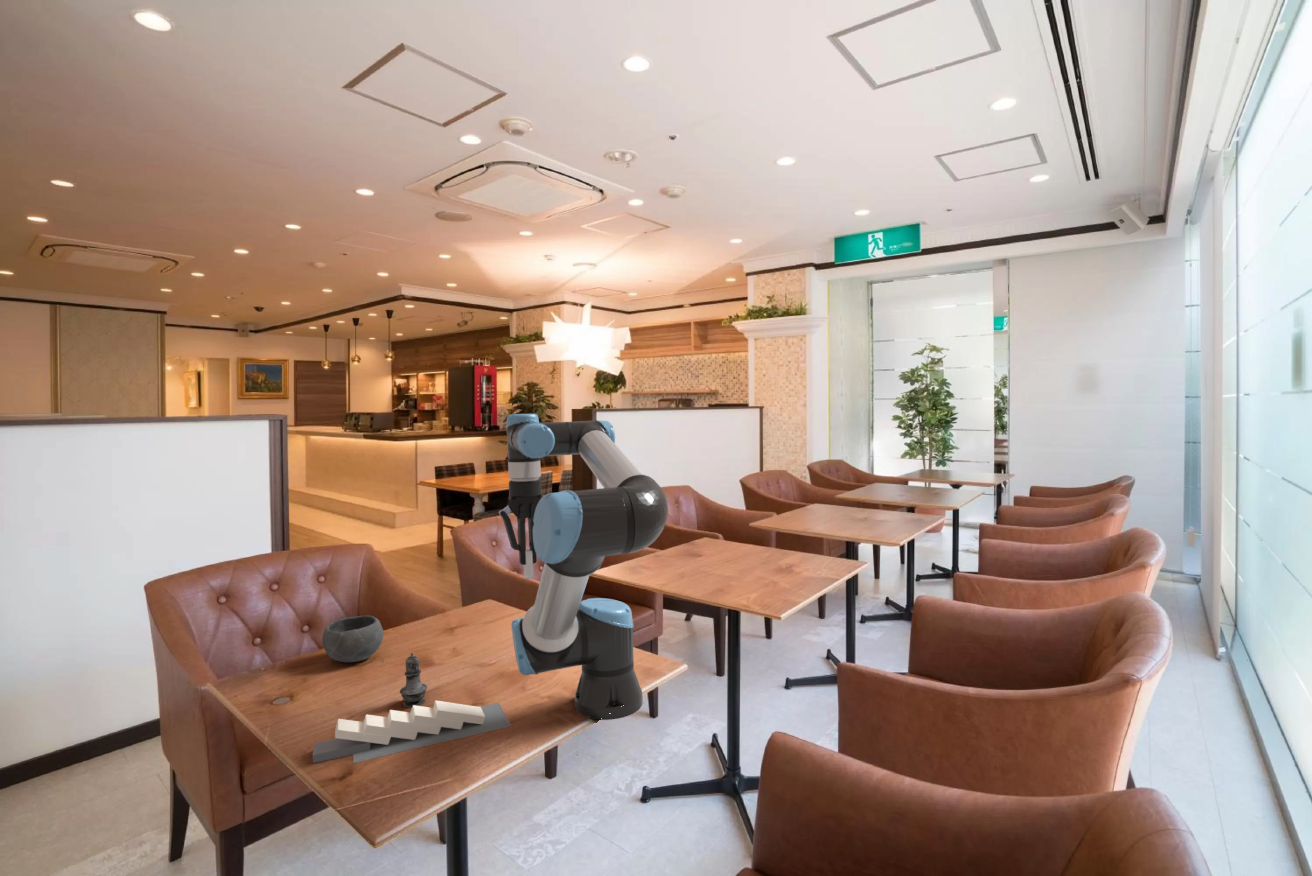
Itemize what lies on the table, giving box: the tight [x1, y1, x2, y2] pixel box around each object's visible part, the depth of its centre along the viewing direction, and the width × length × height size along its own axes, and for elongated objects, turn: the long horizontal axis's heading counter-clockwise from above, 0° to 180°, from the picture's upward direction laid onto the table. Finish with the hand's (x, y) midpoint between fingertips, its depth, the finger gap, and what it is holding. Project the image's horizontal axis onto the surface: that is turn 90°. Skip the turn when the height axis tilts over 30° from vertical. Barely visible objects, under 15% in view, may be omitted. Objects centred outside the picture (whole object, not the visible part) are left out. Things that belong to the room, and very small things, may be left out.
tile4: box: [362, 714, 418, 740], centre depth 132 cm, size 2×5×10 cm
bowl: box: [322, 615, 384, 664], centre depth 176 cm, size 15×15×10 cm
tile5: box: [334, 718, 391, 745], centre depth 130 cm, size 2×5×10 cm
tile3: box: [386, 709, 441, 735], centre depth 134 cm, size 2×5×10 cm
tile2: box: [409, 705, 463, 729], centre depth 136 cm, size 2×5×10 cm
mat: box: [352, 702, 512, 764], centre depth 136 cm, size 30×12×1 cm, turn 115°
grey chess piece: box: [399, 652, 428, 708], centre depth 148 cm, size 6×6×12 cm
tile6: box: [312, 737, 370, 764], centre depth 129 cm, size 2×5×10 cm
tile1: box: [432, 699, 485, 724], centre depth 138 cm, size 2×5×10 cm
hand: (528, 577), depth 155 cm, fingers closed
